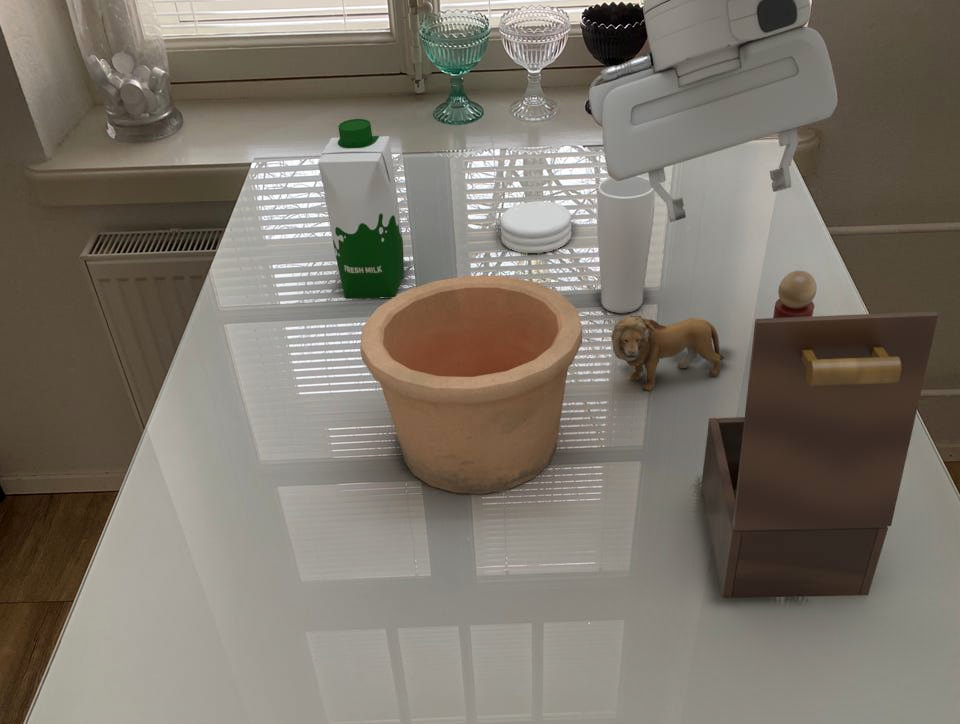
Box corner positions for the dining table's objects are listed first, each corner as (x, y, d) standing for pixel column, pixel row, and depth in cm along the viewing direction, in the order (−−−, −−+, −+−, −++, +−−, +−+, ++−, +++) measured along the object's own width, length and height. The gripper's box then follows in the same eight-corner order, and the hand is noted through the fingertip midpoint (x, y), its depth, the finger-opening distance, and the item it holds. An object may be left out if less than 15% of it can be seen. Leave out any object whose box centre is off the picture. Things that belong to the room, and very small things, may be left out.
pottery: (367, 411, 114) (346, 294, 104) (552, 378, 116) (550, 260, 106) (395, 528, 99) (374, 405, 89) (606, 488, 101) (610, 364, 91)
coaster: (549, 260, 137) (549, 235, 134) (488, 247, 141) (486, 223, 138) (583, 231, 142) (583, 206, 140) (523, 219, 146) (522, 195, 144)
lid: (755, 318, 72) (767, 345, 68) (935, 311, 71) (958, 337, 67) (732, 525, 82) (742, 559, 78) (888, 521, 81) (906, 555, 77)
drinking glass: (643, 320, 124) (650, 199, 113) (590, 315, 126) (591, 196, 115) (652, 294, 128) (659, 175, 117) (600, 290, 130) (603, 172, 119)
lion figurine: (622, 406, 111) (625, 333, 105) (600, 383, 115) (602, 312, 108) (735, 371, 115) (744, 299, 108) (710, 350, 118) (718, 279, 111)
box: (700, 491, 100) (709, 417, 94) (828, 488, 99) (845, 413, 93) (721, 607, 89) (732, 532, 82) (865, 604, 88) (888, 528, 81)
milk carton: (411, 270, 138) (392, 116, 123) (400, 302, 131) (379, 144, 117) (350, 271, 139) (324, 118, 124) (336, 302, 132) (307, 146, 118)
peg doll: (799, 351, 117) (816, 262, 109) (806, 371, 114) (824, 280, 106) (763, 353, 117) (777, 264, 109) (769, 372, 114) (783, 282, 106)
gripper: (582, 72, 85) (617, 239, 90) (828, -10, 80) (850, 171, 85) (585, 78, 91) (617, 235, 96) (815, 2, 86) (836, 172, 91)
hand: (729, 204), depth 91 cm, fingers open, 8 cm apart
